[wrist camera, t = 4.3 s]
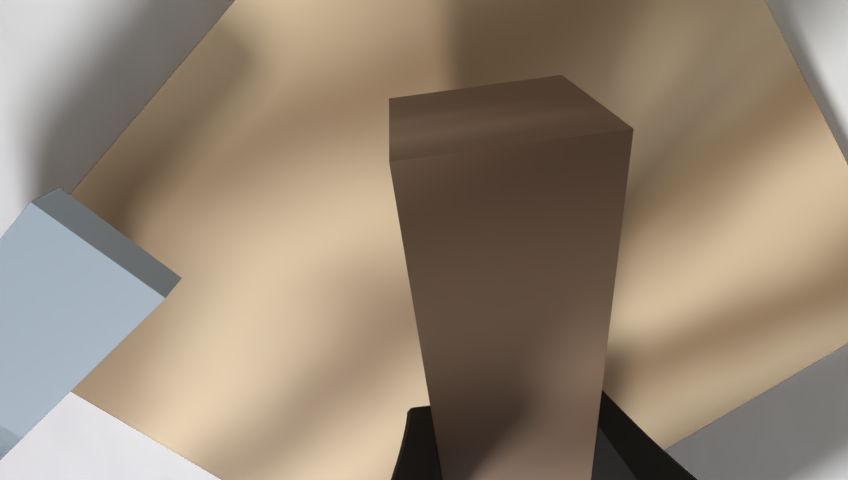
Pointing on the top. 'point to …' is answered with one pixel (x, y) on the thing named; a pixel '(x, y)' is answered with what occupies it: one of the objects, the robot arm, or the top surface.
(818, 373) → the top surface
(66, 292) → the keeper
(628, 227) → the board
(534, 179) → the link
